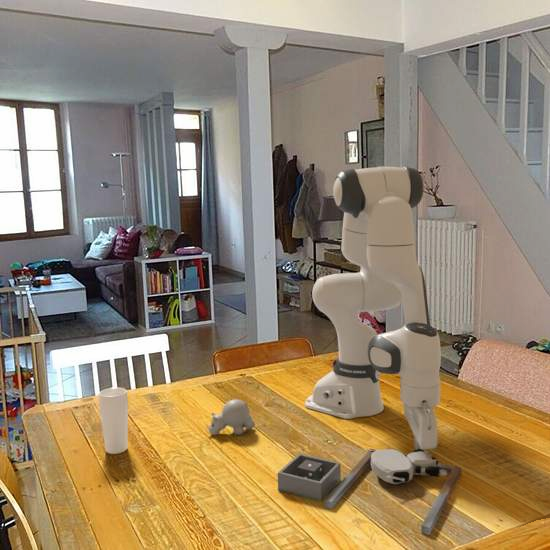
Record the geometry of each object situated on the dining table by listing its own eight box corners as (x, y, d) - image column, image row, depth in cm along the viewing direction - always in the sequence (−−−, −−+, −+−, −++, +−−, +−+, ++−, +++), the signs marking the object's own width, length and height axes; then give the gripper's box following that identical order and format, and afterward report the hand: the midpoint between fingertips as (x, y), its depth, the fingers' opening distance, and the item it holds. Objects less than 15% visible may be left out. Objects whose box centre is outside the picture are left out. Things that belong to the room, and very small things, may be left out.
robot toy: (424, 460, 139) (362, 465, 136) (425, 441, 138) (363, 446, 135) (449, 487, 127) (383, 494, 124) (451, 468, 126) (384, 474, 123)
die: (297, 484, 128) (297, 467, 127) (306, 476, 131) (306, 459, 130) (314, 489, 126) (314, 471, 125) (322, 481, 129) (322, 463, 128)
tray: (278, 490, 127) (277, 472, 126) (299, 470, 135) (299, 453, 134) (321, 501, 122) (320, 483, 121) (340, 480, 130) (340, 462, 130)
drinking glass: (136, 446, 150) (132, 388, 147) (120, 457, 143) (116, 398, 141) (112, 442, 152) (108, 386, 150) (96, 454, 146) (92, 395, 143)
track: (324, 507, 120) (324, 500, 119) (372, 452, 143) (372, 446, 143) (429, 535, 109) (429, 527, 109) (462, 471, 133) (462, 464, 133)
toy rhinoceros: (213, 438, 160) (199, 411, 158) (253, 418, 161) (241, 390, 159) (215, 449, 153) (201, 421, 151) (258, 428, 154) (244, 399, 152)
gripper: (445, 410, 127) (444, 471, 129) (424, 379, 148) (423, 432, 150) (415, 411, 128) (414, 472, 130) (398, 379, 148) (398, 432, 150)
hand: (419, 450), depth 140 cm, fingers closed
